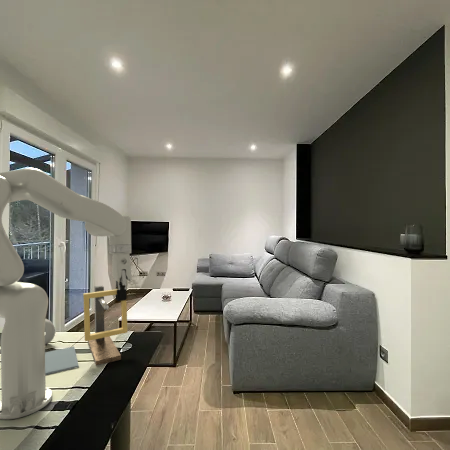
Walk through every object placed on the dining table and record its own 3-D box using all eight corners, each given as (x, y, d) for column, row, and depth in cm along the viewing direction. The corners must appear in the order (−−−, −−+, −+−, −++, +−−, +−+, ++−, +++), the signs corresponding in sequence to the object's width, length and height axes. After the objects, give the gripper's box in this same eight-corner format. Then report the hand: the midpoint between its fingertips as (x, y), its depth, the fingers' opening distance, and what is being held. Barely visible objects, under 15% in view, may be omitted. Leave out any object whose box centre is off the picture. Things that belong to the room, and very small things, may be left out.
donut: (57, 343, 117) (57, 318, 117) (50, 347, 114) (50, 321, 114) (37, 341, 120) (36, 316, 120) (29, 344, 116) (29, 319, 116)
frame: (127, 332, 108) (126, 288, 107) (85, 341, 100) (83, 294, 100) (126, 331, 109) (125, 288, 109) (84, 339, 102) (83, 293, 102)
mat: (78, 367, 97) (78, 365, 97) (35, 377, 91) (35, 375, 91) (74, 348, 112) (74, 346, 112) (36, 355, 106) (36, 354, 106)
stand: (120, 359, 102) (119, 294, 102) (95, 365, 98) (94, 297, 98) (109, 339, 121) (108, 284, 121) (87, 343, 117) (87, 286, 117)
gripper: (136, 250, 103) (137, 303, 103) (125, 247, 116) (126, 294, 116) (113, 251, 99) (114, 306, 99) (105, 248, 112) (106, 297, 112)
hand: (121, 299), depth 107 cm, fingers closed on frame, 1 cm apart
